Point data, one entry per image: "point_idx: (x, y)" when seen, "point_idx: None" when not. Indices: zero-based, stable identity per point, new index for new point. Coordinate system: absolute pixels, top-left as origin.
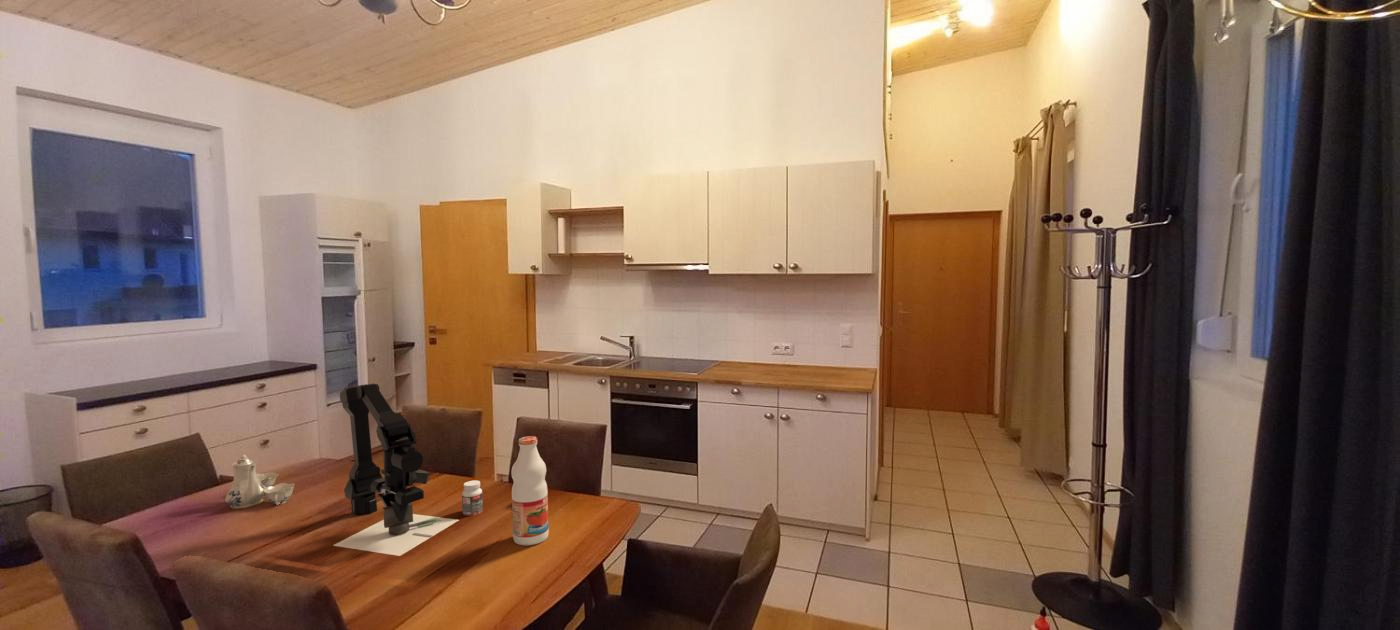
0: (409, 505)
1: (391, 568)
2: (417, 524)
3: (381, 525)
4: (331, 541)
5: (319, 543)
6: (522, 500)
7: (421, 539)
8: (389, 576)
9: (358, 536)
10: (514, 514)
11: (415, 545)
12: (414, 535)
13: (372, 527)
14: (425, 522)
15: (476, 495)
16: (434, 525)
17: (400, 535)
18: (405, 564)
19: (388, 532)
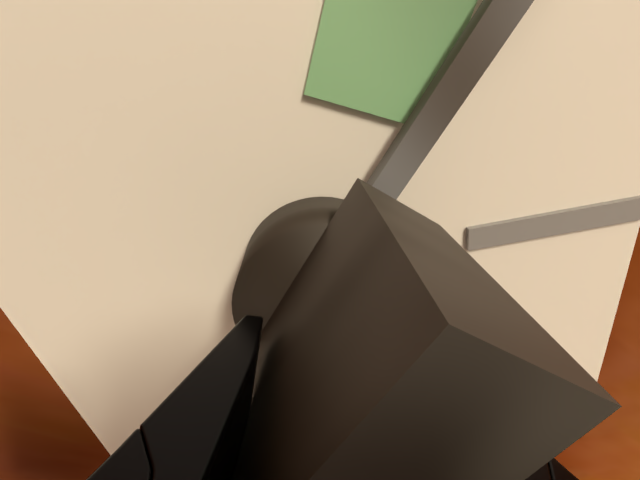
0: (563, 436)
1: (583, 445)
2: (424, 157)
3: (52, 254)
4: (30, 446)
5: (9, 474)
6: None
7: (590, 266)
8: (617, 471)
9: (133, 407)
10: None
11: (601, 330)
12: (491, 250)
13: (37, 304)
14: (475, 80)
15: None
16: (534, 17)
17: None
18: (627, 410)
19: None
